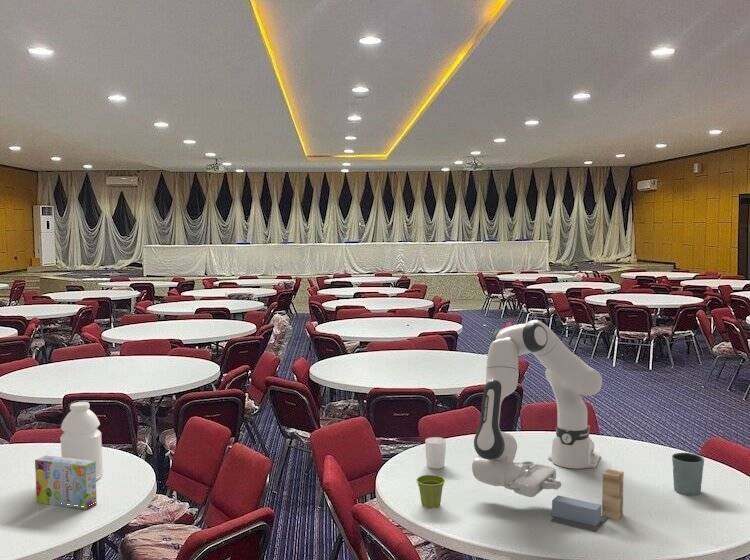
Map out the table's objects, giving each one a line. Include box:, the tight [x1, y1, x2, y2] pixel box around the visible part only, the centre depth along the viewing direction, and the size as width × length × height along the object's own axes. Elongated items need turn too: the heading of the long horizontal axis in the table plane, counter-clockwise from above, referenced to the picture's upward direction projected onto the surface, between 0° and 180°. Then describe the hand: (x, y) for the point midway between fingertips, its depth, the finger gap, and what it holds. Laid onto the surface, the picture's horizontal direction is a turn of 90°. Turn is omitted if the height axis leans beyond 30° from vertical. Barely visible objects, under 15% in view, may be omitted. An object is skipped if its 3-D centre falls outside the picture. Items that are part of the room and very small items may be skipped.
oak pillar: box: [601, 468, 625, 521], centre depth 228 cm, size 5×5×14 cm
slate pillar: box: [551, 495, 602, 526], centre depth 226 cm, size 5×5×14 cm
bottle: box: [59, 401, 104, 481], centre depth 264 cm, size 14×14×28 cm
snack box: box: [34, 454, 98, 510], centre depth 241 cm, size 21×6×15 cm, turn 71°
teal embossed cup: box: [671, 452, 705, 496], centre depth 248 cm, size 10×10×12 cm
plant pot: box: [416, 474, 446, 509], centre depth 237 cm, size 9×9×9 cm
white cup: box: [424, 436, 447, 470], centre depth 275 cm, size 8×8×10 cm
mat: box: [550, 515, 609, 533], centre depth 225 cm, size 12×14×1 cm
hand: (559, 485), depth 228 cm, fingers closed
